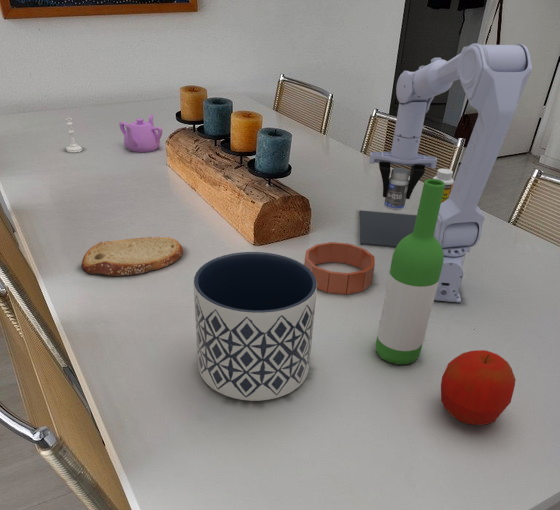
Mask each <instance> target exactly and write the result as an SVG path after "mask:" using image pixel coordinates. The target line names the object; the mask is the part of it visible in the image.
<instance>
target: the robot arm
mask: <svg viewBox="0 0 560 510" xmlns="http://www.w3.org/2000/svg"><path fill="white" fill-rule="evenodd" d="M532 71H533V65H532V60H531V55H530V51H529V47H527V46H526V45H525V44H523V43H517V44H479V43H471V44H470V45H467V46H463V48H462V50H461V52H460V53H459V54H457V55H455V56H453V57H452V58H450V59H449V60H446V59H442V57H433V58H432V59H430V63H428V64H427V65H420V66H419V67H418V69H416V70H415V71H409V70H403V71H402V73H400V75H399V76H398V79H397V82H396V86H395V87H396V91H395V92H396V93H395V94H396V99H397V101H398V102H399V103H398V108H397V113H396V114H397V115H396V121H395V127H394V131H393V138H392V145H391V151H370V153H369V159H368V162H369V164H373V165H374V164H378V168H379V172H380V176H381V181H382V197H383V198H385V197H386V196H387V188H388V181H389V178H390V177H391V172H392V169H391V165H396V166H397V165H399V166H409V167H410V173H409V178H408V180H409V187H408V192H407V197H406V200H410V198H411V196H412V193H413V192H414V189H415V188H416V186H417V184H418V182H419V181H420V180H421V179H422V177H423V176H424V174H425V172H426V168H430V169H436V168H437V163H438V158H437V156H431V155H425V154H419V149H420V143H421V139H422V134H423V128H424V122H425V118H426V114H427V113H428V112H429V110H430V106H431V103H432V101H433V100H434V99H435V97H437V96H439V95H441V94H443V93H446V92H447V91H449V90H450V89H451V87H452V86H453V83H454V82H456V81H458V80H459V81H460V85H461V87H462V90H463V92H464V94H465V95H466V98H467V101H468V103H469V106H470V107H471V108H473V109H475V110H477V111H476V112H477V118H476V121H475V124H474V126H473V129H472V132H471V134H470V137H469V140H468V143H467V145H466V149H465V152H464V154H463V157H462V159H461V162H460V165H459V168H458V171H457V173H456V176H455V178H454V184H453V187H452V190H451V192H450V195H449V198H448V199H447V200H446V201H444V202H443V203H441V205H440V210H439V214H438V219H437V223H436V227H435V232H434V237H435V238H436V239H437V240H438V242H439V243H440V245H441V247H442V250H443V255H444V261H443V266H442V270H441V274H440V277H439V282H438V286H437V290H436V294H435V298H434V301H437V302H439V301H440V302H450V303H461V302H462V299H461V295H460V288H461V285H462V281H463V278H464V268H463V265H464V261H465V258H466V254H467V253H470V252H471V248H472V247H475V246H476V245H477V244H478V243H479V241H480V239H481V237H482V230H483V224H484V221H485V220H486V218H485V217H486V216H485V215H484V213H483V210H482V209H481V208H480V207H479V206H478V205H479V202H480V200H481V197H482V195H483V192H484V190H485V188H486V186H487V183H488V180H489V177H490V175H491V172H492V171H493V168H494V165H495V164H496V160H497V158H498V156H499V153H500V151H501V149H502V146H503V144H504V142H505V139H506V136H507V134H508V131H509V129H510V127H511V124H512V121H513V119H514V116H515V113H516V112H517V111H516V110H517V106H518V105H519V103H520V100H521V98H522V95H523V93H524V91H525V88H526V85H527V84H528V81H529V78H530V76H531V73H532Z"/></svg>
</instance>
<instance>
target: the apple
mask: <svg viewBox="0 0 560 510" xmlns="http://www.w3.org/2000/svg"><path fill="white" fill-rule="evenodd" d="M516 380H517V379H516V377H515V374H514V371H513V368H512V367H511V365H510V363H509V362H508V360H506V359H505V358H504V357H502V356H501V355H499V354H497V353H495V352H492V351H488V350H485V349H478V350H468V351H465V352H462V353H460V354H459V355H458V356H456V357H454V358H453V359H452V360H450V361H449V362H448V364H447V365H446V368H445V370H444V372H443V375H442V377H441V382H440V401H441V404H442V405H443V408H444V409H445V410H446V411H447V412H448V413H449V415H450V416H452V417H453V418H454V419H455V420H457V421H458V422H461V423H462V424H466V425H471V426H477V425H479V426H480V425H482V426H483V425H484V426H485V425H488V424H491V423H495V422H496V421H497V419H499V418H500V416H501V414H502V413H503V412H504V411H506V409H507V408H508V406H510V404H511V402H512V399H513V395H514V390H515V386H516Z"/></svg>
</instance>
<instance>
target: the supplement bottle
mask: <svg viewBox="0 0 560 510" xmlns="http://www.w3.org/2000/svg"><path fill="white" fill-rule="evenodd" d="M453 175H454V171H453V170H451V169H449V168H439V169H437V172H436V175H435V176H433V177H432V179H438V180H441V181H443V182H444V183H445V188H444V192H443V197H442V201H441V203H443V202H444V201H446V200H447V199H448V198H449V195H450V192H451V190H452V187H453V184H454V181H455V179H453Z"/></svg>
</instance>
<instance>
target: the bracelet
mask: <svg viewBox="0 0 560 510" xmlns="http://www.w3.org/2000/svg"><path fill="white" fill-rule="evenodd" d="M375 259H376V258H375V256H374V254H372V253H371V252H369V251H368V250H367V248H364V247H361V246H358V245H355V244H352V243H347V242H338V241H329V242H322V243H316V244H314V245H313V246H311V247H309V248H308V249H306V250H305V254H304V264H303V265H305V266H306V267H307V268H309V269H310V270H311V272H312V273H313V274H314V276H315V278H316V281H317V290H319V291H321V292H324V293H328V294H338V295H350V294H355V293H361V292H363V291H365V290H367V288H369V287H370V286H372V284H373V278H374V273H375V266H376V263H375V262H376V260H375ZM327 263H337V264H338V263H339V264H347V265H349V266H352V267H355V268H358V269H360V270H358V271H353V272H342V271H332V270H331V271H330V270H328V269H325V268H322V267H320V266H317V265H321V264H327Z"/></svg>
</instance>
